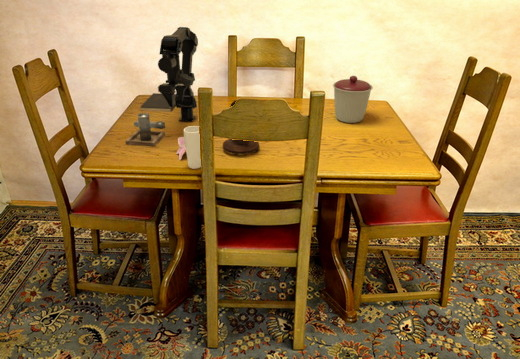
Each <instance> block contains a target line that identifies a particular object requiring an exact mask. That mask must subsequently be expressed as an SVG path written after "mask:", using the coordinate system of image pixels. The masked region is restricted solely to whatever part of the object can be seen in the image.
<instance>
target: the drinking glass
mask: <svg viewBox="0 0 520 359" xmlns="http://www.w3.org/2000/svg"><path fill="white" fill-rule="evenodd" d="M199 127H200V126H198V125H191V126H189V125H188V126H187V127H185V128H183V137H184V142H185V148H186V150H185V152H186V159H187V165H188V168H189V169H192V170H197V169H200V168H202V166H201V159H200V134H199Z"/></svg>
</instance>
